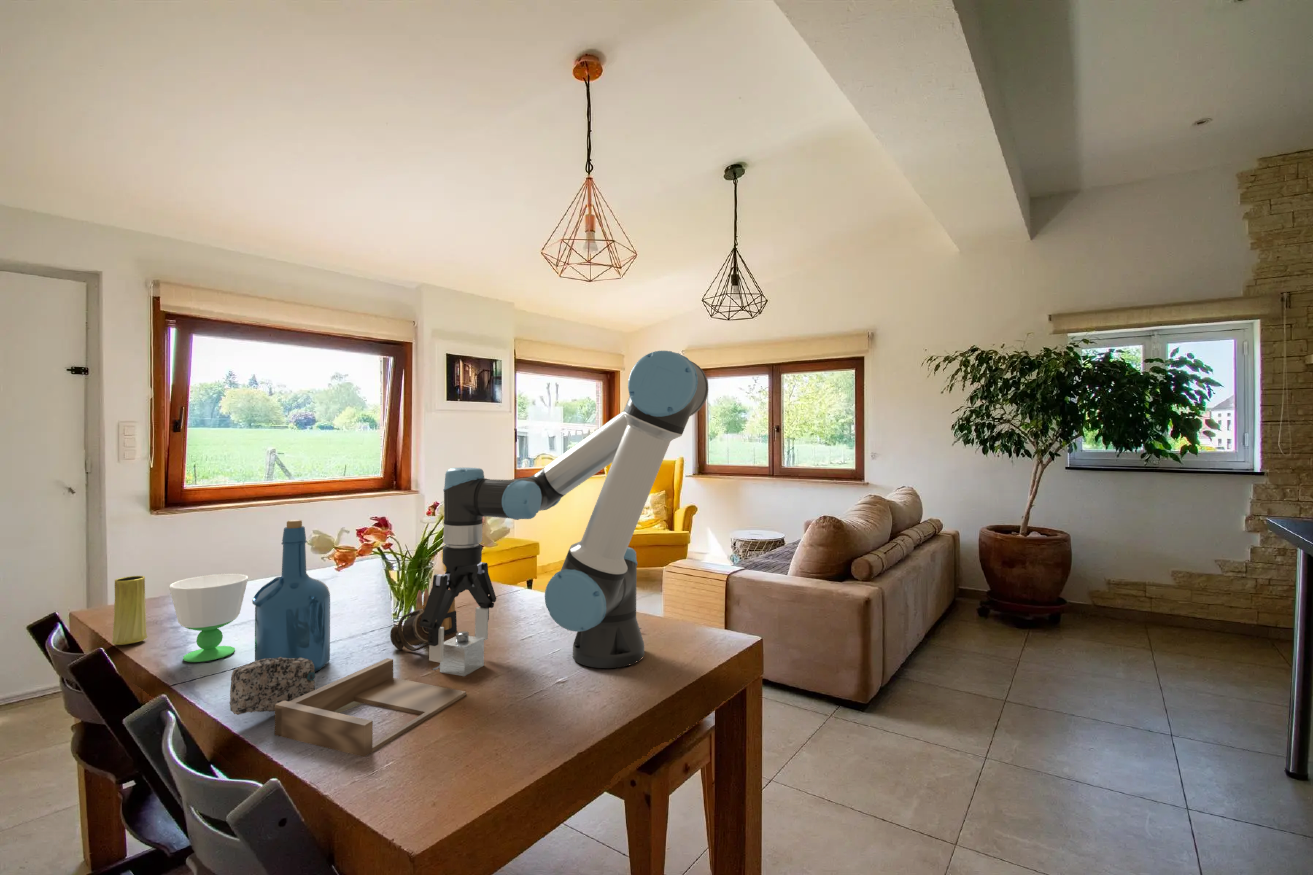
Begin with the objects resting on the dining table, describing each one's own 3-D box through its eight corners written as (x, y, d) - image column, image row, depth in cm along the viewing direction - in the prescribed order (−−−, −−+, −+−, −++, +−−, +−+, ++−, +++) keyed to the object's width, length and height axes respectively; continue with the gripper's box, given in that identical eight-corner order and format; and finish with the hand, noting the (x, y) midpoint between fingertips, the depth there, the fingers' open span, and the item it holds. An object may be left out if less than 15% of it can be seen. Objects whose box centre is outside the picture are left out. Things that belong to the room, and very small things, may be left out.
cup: (255, 653, 128) (256, 580, 128) (174, 672, 118) (175, 592, 118) (239, 639, 138) (240, 570, 138) (163, 654, 127) (163, 580, 128)
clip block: (483, 667, 122) (483, 630, 122) (464, 678, 116) (464, 639, 116) (460, 663, 124) (460, 627, 124) (439, 673, 118) (439, 636, 118)
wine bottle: (320, 651, 130) (320, 514, 130) (339, 669, 120) (340, 520, 120) (245, 668, 120) (245, 520, 120) (259, 688, 110) (260, 527, 111)
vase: (105, 642, 135) (105, 579, 135) (137, 634, 140) (137, 574, 140) (121, 646, 132) (121, 582, 132) (153, 638, 138) (153, 576, 138)
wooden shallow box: (466, 697, 107) (466, 669, 107) (364, 759, 86) (364, 725, 86) (387, 681, 114) (387, 655, 114) (274, 736, 93) (274, 704, 93)
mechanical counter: (428, 662, 124) (428, 614, 124) (373, 657, 126) (373, 610, 126) (446, 650, 131) (447, 605, 131) (395, 646, 133) (395, 601, 133)
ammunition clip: (418, 644, 135) (418, 591, 135) (413, 642, 136) (413, 590, 136) (457, 631, 144) (457, 581, 144) (452, 630, 145) (452, 580, 145)
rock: (303, 653, 107) (319, 651, 105) (302, 705, 105) (318, 703, 103) (228, 663, 96) (244, 660, 94) (224, 721, 94) (241, 719, 92)
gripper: (485, 533, 133) (483, 628, 133) (401, 553, 110) (398, 668, 110) (514, 536, 130) (511, 633, 130) (433, 557, 107) (430, 675, 107)
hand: (459, 649), depth 120 cm, fingers open, 13 cm apart
